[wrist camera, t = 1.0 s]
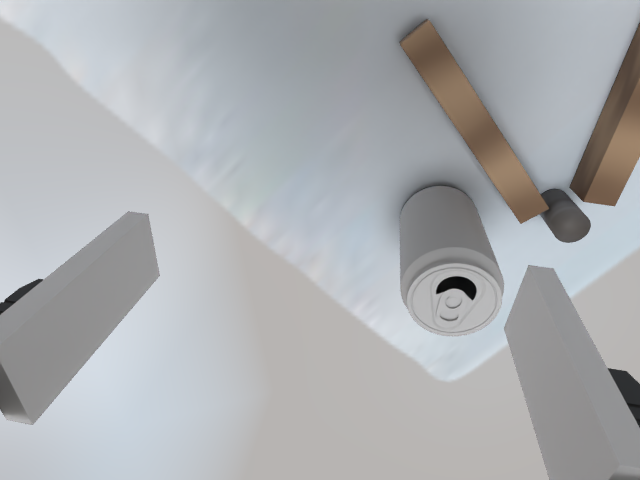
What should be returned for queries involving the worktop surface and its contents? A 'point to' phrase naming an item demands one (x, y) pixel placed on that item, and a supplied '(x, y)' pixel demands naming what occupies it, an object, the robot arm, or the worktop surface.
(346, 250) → the worktop surface
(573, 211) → the bar
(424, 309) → the beverage can
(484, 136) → the bar
